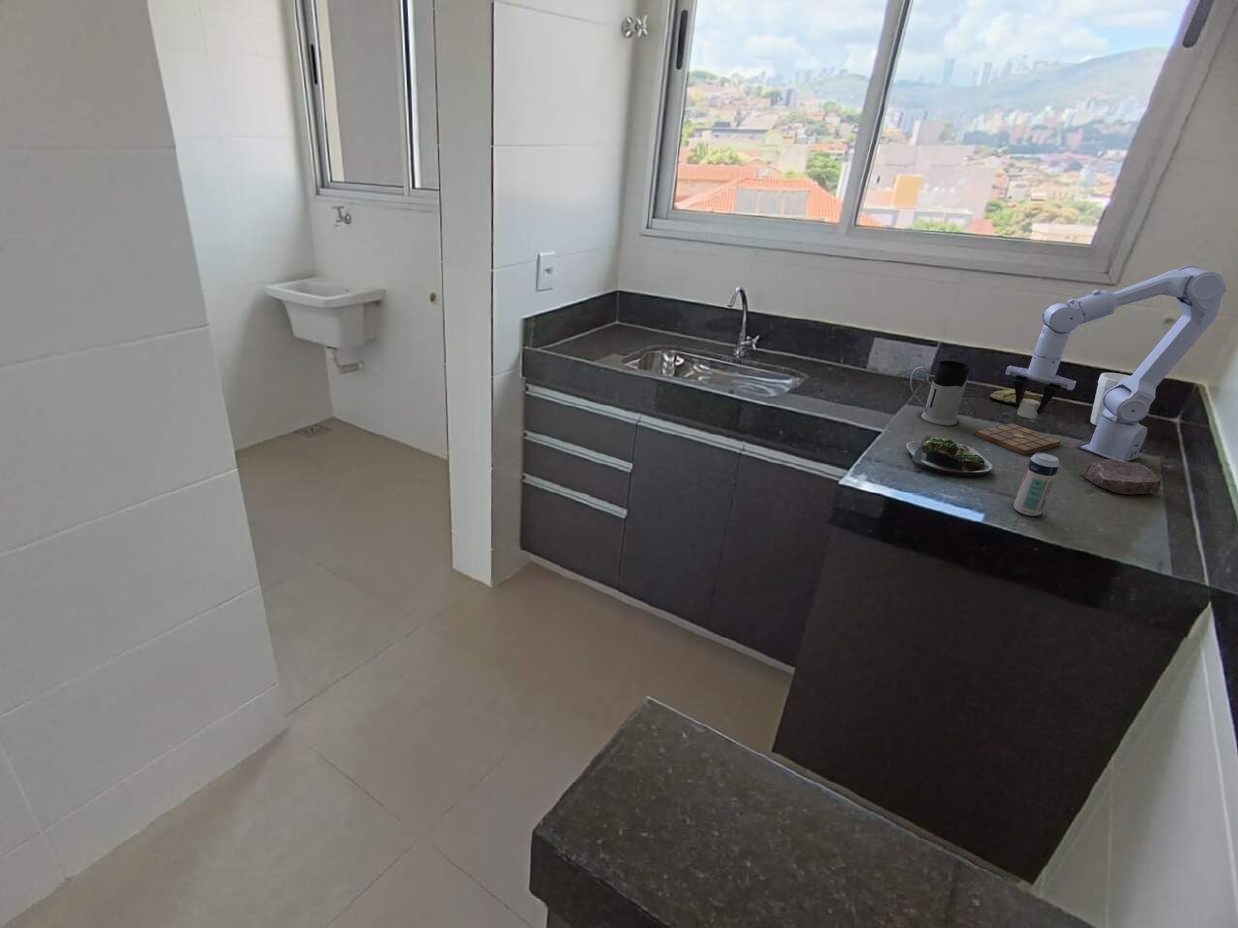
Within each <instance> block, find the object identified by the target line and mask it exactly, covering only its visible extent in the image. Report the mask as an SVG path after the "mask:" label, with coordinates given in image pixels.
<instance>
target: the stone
mask: <svg viewBox="0 0 1238 928" xmlns="http://www.w3.org/2000/svg"><path fill="white" fill-rule="evenodd" d="M1084 478H1085V479H1087V480H1088V481H1090V482H1091V483H1092V484H1094V485H1097V486H1099V487H1100V488H1103V489H1106V490H1108V491H1110V492H1112V493H1117V494H1123V495H1137V494H1139V495H1145V494H1158V493H1159V492H1160V489H1161V482H1162V480H1161V479H1160V477H1158V476H1157V475H1156V474H1155V473H1154V471H1152V470H1150V468H1148V467H1147V466H1145V465H1144V464H1142V463H1141V462H1132V461H1126V462H1122V461H1119V460H1115V459H1101V460H1095V461H1093V462H1092V463H1091V464H1088V466H1087V468H1086V470H1085V471H1084Z"/></svg>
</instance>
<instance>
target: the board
mask: <svg viewBox="0 0 1238 928" xmlns="http://www.w3.org/2000/svg"><path fill="white" fill-rule="evenodd" d="M976 437H978V438H981V439H984V440H986V441H988V442H991V443H994V444H996V445H998V446H1001V447H1003V448H1005V449H1008V450H1011V451H1013V452H1016V453H1018V454H1020V455H1023V456H1026V455H1029V454H1033V453H1038V452H1041V451H1045V450H1048V449H1051V448H1056V447H1058V446H1060V443H1061V440H1058V439H1055V438H1053V437H1050V436H1048V435H1045V434H1043V433H1040V432H1038V431H1034V430H1032V429H1029V428H1026V427H1025V426H1024V427H1023V426H1021V425H1018V424H1016V423H1013V422H1011V423H1007V424H1002V425H998V426H994V427H990V428H984V429H982V430H977V432H976Z"/></svg>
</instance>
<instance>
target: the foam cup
mask: <svg viewBox="0 0 1238 928" xmlns="http://www.w3.org/2000/svg"><path fill="white" fill-rule="evenodd" d="M1129 376H1130V375H1128V374H1122V373H1117V372H1102V373H1101V374H1099V378H1098V380H1097V388H1096V391H1095V392H1096V393H1095V398H1094V402H1093V405H1092V410H1091V415H1090V420H1089V421H1090V423H1091V424H1092V425H1095V426H1097V424H1098V422H1099V419H1100V417H1101V414H1102V412H1103V411H1104V409H1105V406H1104V405H1103V401H1102V399H1103V396H1104V394H1105V393H1106V392H1107V391H1108V390H1109V389H1111V388H1113V387H1115V386H1116V385H1117V384H1118V383H1119V382H1120V381H1121V380H1122V379H1124V378H1127V377H1129Z"/></svg>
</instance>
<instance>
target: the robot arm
mask: <svg viewBox="0 0 1238 928" xmlns="http://www.w3.org/2000/svg"><path fill="white" fill-rule="evenodd" d="M1227 291H1228V289H1227V285H1226V283H1225V280H1224V278H1223V276H1222V275H1221V274H1220V273H1218V272H1215V271H1210V270H1206V269H1202V268H1199V266H1198V267H1197V266H1194V265H1185V266H1182V267H1180V268H1178V269H1171V270H1167V271H1166V272H1164V273H1163V272H1162V274H1159V275H1156V276H1154V277H1151V278H1149V279H1146V280H1143V281H1141V282H1140V281H1139V282H1138V283H1134V284H1133V285H1130V286H1127V287H1124V288H1122V289H1119V290H1116V291H1113V292H1111V291H1108V290H1106V289H1105V290H1104V289H1103V290H1099V289H1095V290H1092V291H1091V293H1090V294H1088V295H1084V296H1082V297H1079V298H1077V299H1074V298H1070V299H1067V302H1066V303H1061V302H1060V303H1059V302H1058V303H1054V304H1052V305H1050V306H1049V307H1048V308H1046V309H1045V311H1044V312H1043V313H1042V314H1041V321H1042V323H1043V326H1042V328H1041V331H1040V334H1039V337H1038V339H1037V342H1036V346H1035V348H1034V351H1033V354H1032V356H1031V357H1032V358H1031V360H1030V363H1029V366H1028V368H1025V367H1018V366H1015V365H1014V366H1013V365H1009V366H1007V367H1006V370H1005V374H1004V375H1006V376H1013V377H1014V378H1013V382H1012V383H1013V386H1014V389H1015V393H1016V403H1015V404H1014V408H1016V409H1018V407H1019V404H1020V402H1021V400H1023V397H1024V393H1025V391H1027V389H1028V385H1029V383H1030V381H1034V382H1038V383H1042V384H1046V386H1045V387H1044V391H1043V394H1042V398H1041V400H1040V402H1041V404H1040V406H1039V408H1038V411H1037V413H1038V415H1041V414H1042V413H1043V412H1044V410H1045V408H1046V407H1047V405H1048V404H1049V403H1050V401H1051V400H1052V399H1053V397H1055V395H1056V394H1057V393H1058V392H1059V391H1060V390H1061V389H1062V388H1063V389H1066V390H1067V391H1073V390H1074V389H1075V387H1076V384H1077V381H1076V380H1073V379H1070V378H1066V377H1063V376H1060V375H1057V372H1058V369H1059V366H1060V363H1061V361H1062V358H1063V355H1064V353H1065V349H1066V347H1067V344H1068V341H1069V337H1070V335H1071V332H1073V331H1074V330H1075V329H1077V328H1078V326H1079V325H1083V324H1085V323H1089V322H1092V321H1095V320H1099V319H1101V318H1102V319H1103V318H1105V317H1107V316H1111V315H1113V313H1115V311H1116V310H1117V309H1118V308H1119V307H1122V306H1125V305H1126V306H1127V305H1129V304H1132V303H1136V302H1139V301H1143V300H1147V299H1151V298H1154V297H1157V296H1162V295H1163V296H1168V297H1175V298H1176V300H1178V303H1179V307H1180V309H1181V316H1180V317H1179V318H1178V320H1177V321H1176V322H1175V323H1174V324H1173V326H1172V327H1171V328H1170V329H1169V330H1168V331H1167V332H1166V334H1164V336H1163V337H1162V338H1161V340H1160V341H1159V342H1158V343H1157V344H1156V346H1155V347H1154V348H1153V349H1152V351H1151V352H1150V353H1149V354H1148V355H1147V356H1146V358H1145V359H1144V360H1143V361H1142V362H1141V363H1140V365H1139V366H1138V367H1137V368H1136V370H1134V372H1133V373H1132V374H1131V375H1128V376H1129V377H1127V378H1124V379H1122V380H1121V381H1120V382H1119V383H1118V384H1117V385H1116V386H1115V387H1113V388H1111V389H1109V390H1108V391H1107V392H1106V393H1105V394H1104V396H1103V399H1102V401H1103V405H1104V406H1105V409H1104V411H1103V412H1102V414H1101V417H1100V419H1099V422H1098V424H1097V425H1096V427H1095V429H1094V431H1093V435H1092V437H1091V440H1090V441H1089V443H1087V444H1084V445H1081V446H1080V449H1082V450H1084V451H1087V452H1090V453H1093V454H1095V455H1098V456H1101V457H1103V458H1106V459H1108V460H1111V459H1115V460H1119V461H1122V462H1131V461H1132V460H1136V459H1138V458H1139V454H1140V451H1141V449H1142V447H1143V445H1144V443H1145V440H1146V437H1147V435H1148V427H1147V426H1144V425H1142V424H1140V423H1139V422H1140V421H1142V420H1143V419H1144V418H1146V417H1147V415H1148V414H1149V411H1150V408H1151V405H1152V404H1153V402H1154V401H1155V400H1156V393H1157V392H1156V390H1157V387H1158V386H1159V385H1160V383H1161V382H1162V381H1163V380H1164V379H1165V378H1166V377H1167V375H1168V374H1169V373H1170V372H1171V371H1172V370H1173V368H1174V367H1175V366H1176V365H1177V364H1178V363H1179V361H1180V360H1181V359H1182V358H1183V357H1184V356H1185V355H1186V354H1187V352H1189V350H1190V349H1191V348H1192V347H1193V346H1194V344H1195V343H1196V342H1197V341H1198V340H1199V338H1200V337H1201V336H1203V334H1204V333H1205V332H1206V331H1207V329H1208V328H1209V327H1210V326H1211V325H1212V324H1213V323H1214V321H1215V320H1216V318H1217V317H1218V314H1219V310H1220V307H1221V302H1222V298H1223V296H1224V295H1225V294H1226V292H1227Z"/></svg>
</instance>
